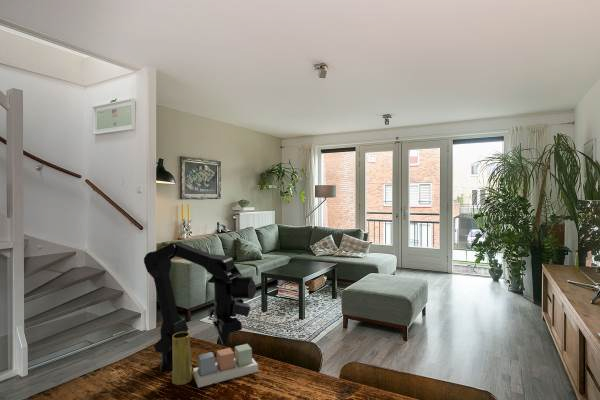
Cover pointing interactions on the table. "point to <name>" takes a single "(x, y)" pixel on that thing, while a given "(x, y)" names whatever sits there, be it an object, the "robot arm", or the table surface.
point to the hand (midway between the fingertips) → (224, 344)
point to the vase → (181, 358)
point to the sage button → (243, 355)
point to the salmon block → (225, 359)
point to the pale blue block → (206, 364)
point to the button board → (224, 374)
